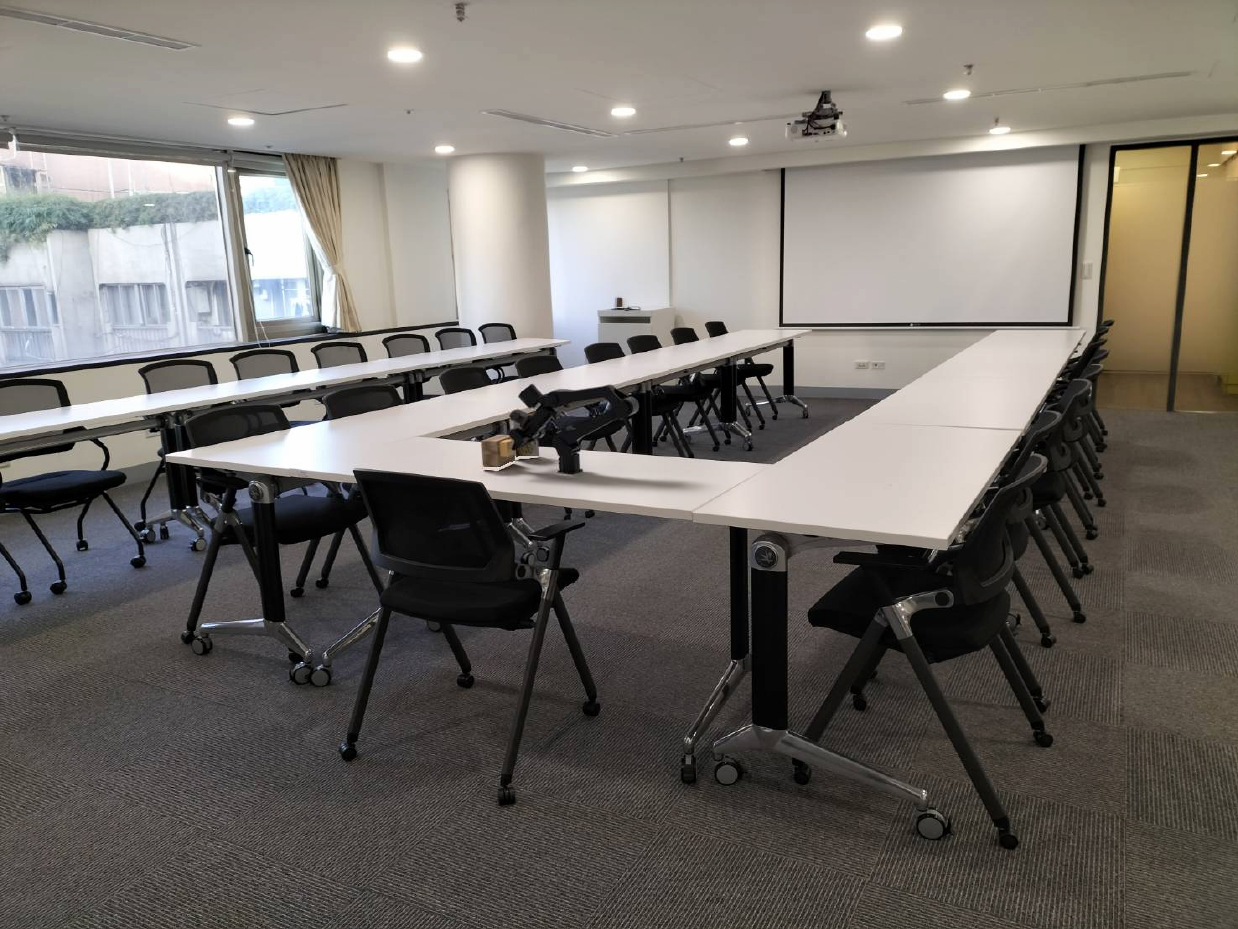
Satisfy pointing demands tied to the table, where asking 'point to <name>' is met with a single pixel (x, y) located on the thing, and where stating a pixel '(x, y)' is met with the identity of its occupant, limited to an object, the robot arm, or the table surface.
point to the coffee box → (530, 448)
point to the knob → (506, 448)
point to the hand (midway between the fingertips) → (512, 449)
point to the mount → (495, 452)
